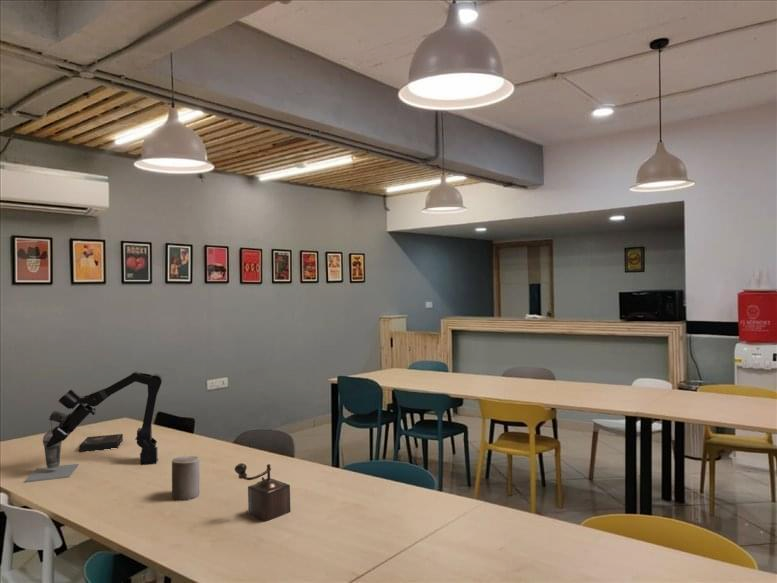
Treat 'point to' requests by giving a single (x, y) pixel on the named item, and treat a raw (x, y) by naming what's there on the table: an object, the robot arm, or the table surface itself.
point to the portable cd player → (101, 442)
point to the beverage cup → (51, 451)
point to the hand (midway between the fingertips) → (49, 444)
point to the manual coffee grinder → (266, 495)
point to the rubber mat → (52, 473)
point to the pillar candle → (185, 477)
